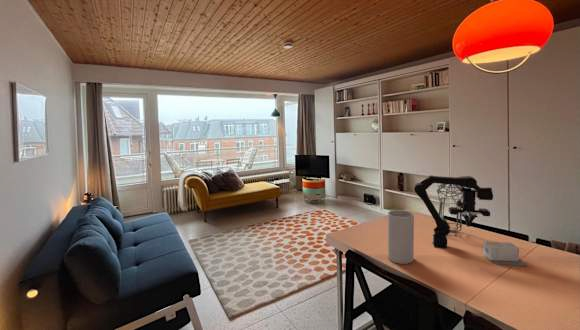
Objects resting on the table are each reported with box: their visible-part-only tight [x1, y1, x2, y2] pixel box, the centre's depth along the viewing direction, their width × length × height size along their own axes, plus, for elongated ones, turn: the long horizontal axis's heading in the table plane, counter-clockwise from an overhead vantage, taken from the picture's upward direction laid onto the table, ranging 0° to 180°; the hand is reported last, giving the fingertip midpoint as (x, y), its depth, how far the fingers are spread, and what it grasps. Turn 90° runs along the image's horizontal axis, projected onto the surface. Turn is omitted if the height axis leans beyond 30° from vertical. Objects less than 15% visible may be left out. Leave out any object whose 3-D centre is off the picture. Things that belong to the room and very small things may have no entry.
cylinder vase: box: [387, 209, 415, 265], centre depth 144 cm, size 12×12×25 cm
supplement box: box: [483, 241, 520, 261], centre depth 140 cm, size 7×7×13 cm
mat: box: [491, 258, 528, 268], centre depth 139 cm, size 13×11×1 cm
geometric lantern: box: [435, 184, 466, 237], centre depth 174 cm, size 16×16×35 cm
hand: (468, 226), depth 152 cm, fingers closed
